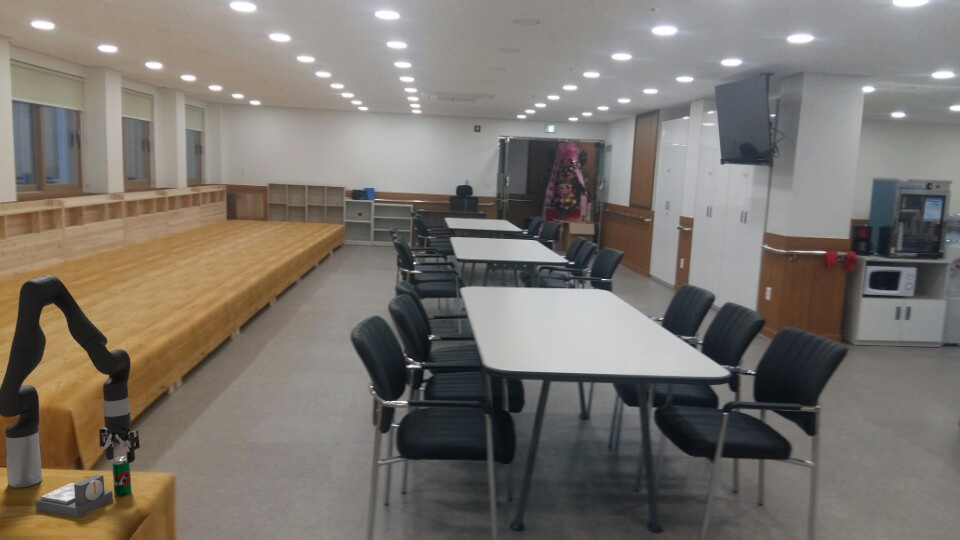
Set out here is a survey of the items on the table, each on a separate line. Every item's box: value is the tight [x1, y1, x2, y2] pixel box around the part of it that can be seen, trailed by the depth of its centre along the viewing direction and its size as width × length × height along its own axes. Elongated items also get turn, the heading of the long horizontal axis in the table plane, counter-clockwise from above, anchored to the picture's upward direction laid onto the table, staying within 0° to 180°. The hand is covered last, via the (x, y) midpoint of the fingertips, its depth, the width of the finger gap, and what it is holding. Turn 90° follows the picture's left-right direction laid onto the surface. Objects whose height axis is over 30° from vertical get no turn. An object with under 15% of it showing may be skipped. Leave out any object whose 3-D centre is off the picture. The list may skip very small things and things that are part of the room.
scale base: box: [34, 474, 114, 518], centre depth 218 cm, size 17×13×9 cm
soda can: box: [111, 455, 133, 498], centre depth 226 cm, size 5×5×12 cm
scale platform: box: [39, 482, 76, 504], centre depth 219 cm, size 11×11×1 cm
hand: (120, 460), depth 225 cm, fingers open, 8 cm apart
